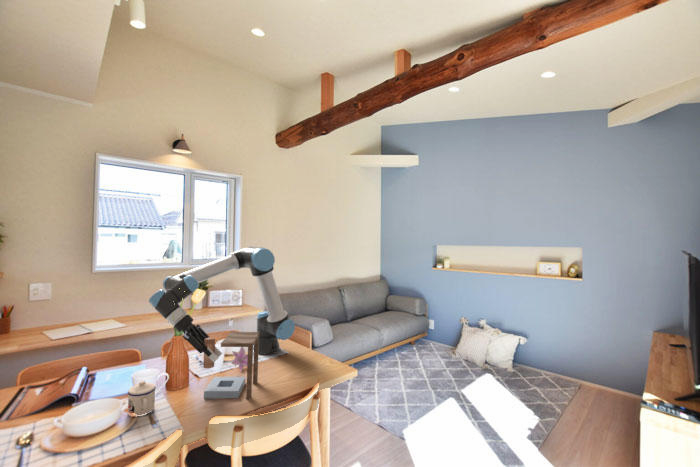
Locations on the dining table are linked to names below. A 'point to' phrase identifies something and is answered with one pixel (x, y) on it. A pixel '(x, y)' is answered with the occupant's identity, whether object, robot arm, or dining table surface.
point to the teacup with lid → (141, 398)
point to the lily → (240, 358)
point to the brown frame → (248, 341)
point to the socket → (224, 387)
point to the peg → (211, 344)
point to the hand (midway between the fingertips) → (218, 357)
